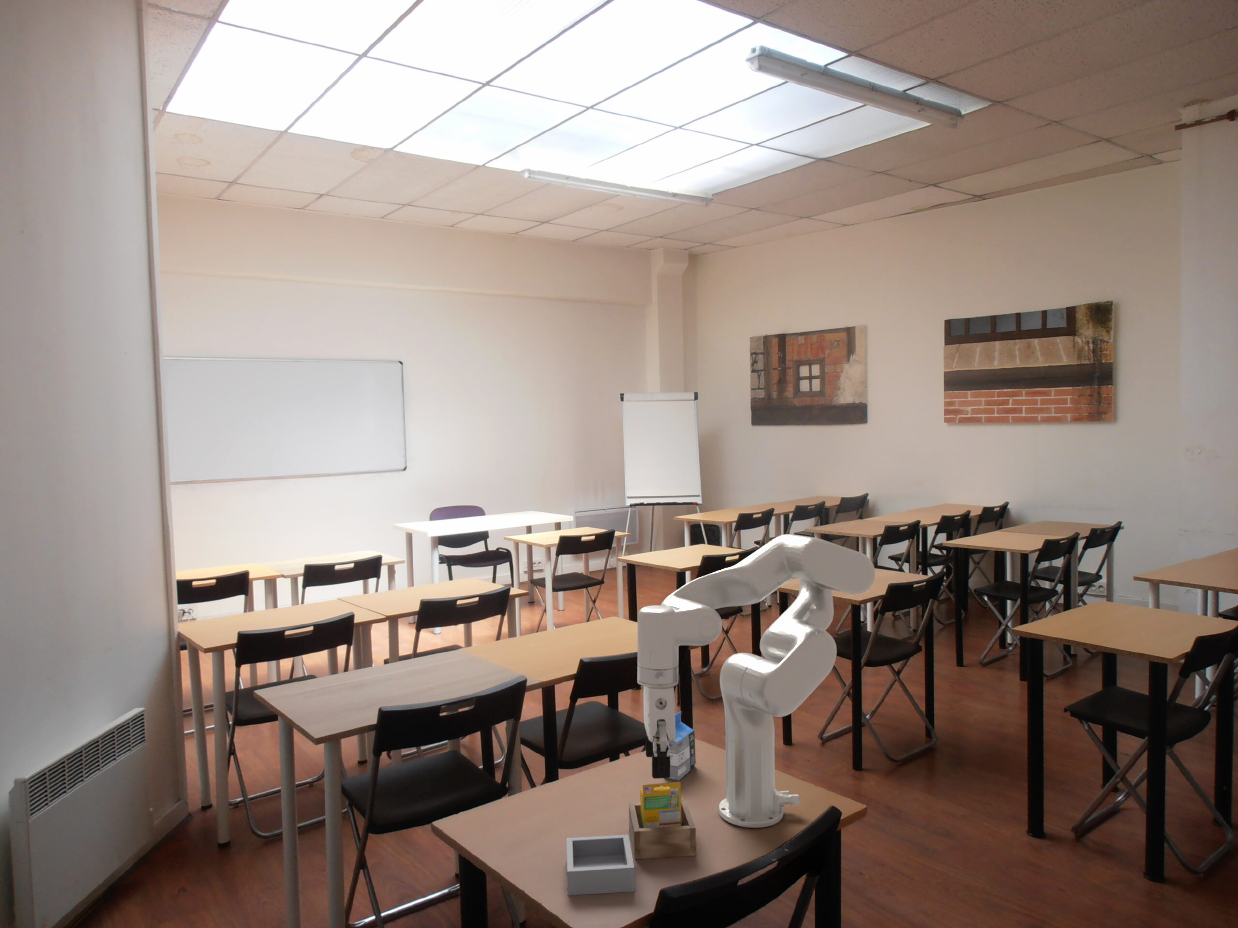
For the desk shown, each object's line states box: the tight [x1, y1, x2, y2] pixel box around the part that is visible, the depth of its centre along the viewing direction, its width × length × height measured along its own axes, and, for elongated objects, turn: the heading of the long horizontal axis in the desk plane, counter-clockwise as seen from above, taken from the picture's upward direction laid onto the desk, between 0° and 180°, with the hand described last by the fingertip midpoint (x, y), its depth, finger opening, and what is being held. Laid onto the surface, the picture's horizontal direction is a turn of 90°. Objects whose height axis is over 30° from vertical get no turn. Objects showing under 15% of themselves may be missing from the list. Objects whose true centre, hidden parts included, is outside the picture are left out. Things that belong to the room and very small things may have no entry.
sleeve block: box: [628, 799, 697, 860], centre depth 148 cm, size 11×11×5 cm
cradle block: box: [566, 834, 636, 896], centre depth 137 cm, size 11×11×4 cm
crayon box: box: [639, 781, 682, 828], centre depth 148 cm, size 7×3×12 cm, turn 98°
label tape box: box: [667, 710, 697, 782], centre depth 178 cm, size 9×4×12 cm, turn 149°
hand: (657, 766), depth 147 cm, fingers open, 9 cm apart
